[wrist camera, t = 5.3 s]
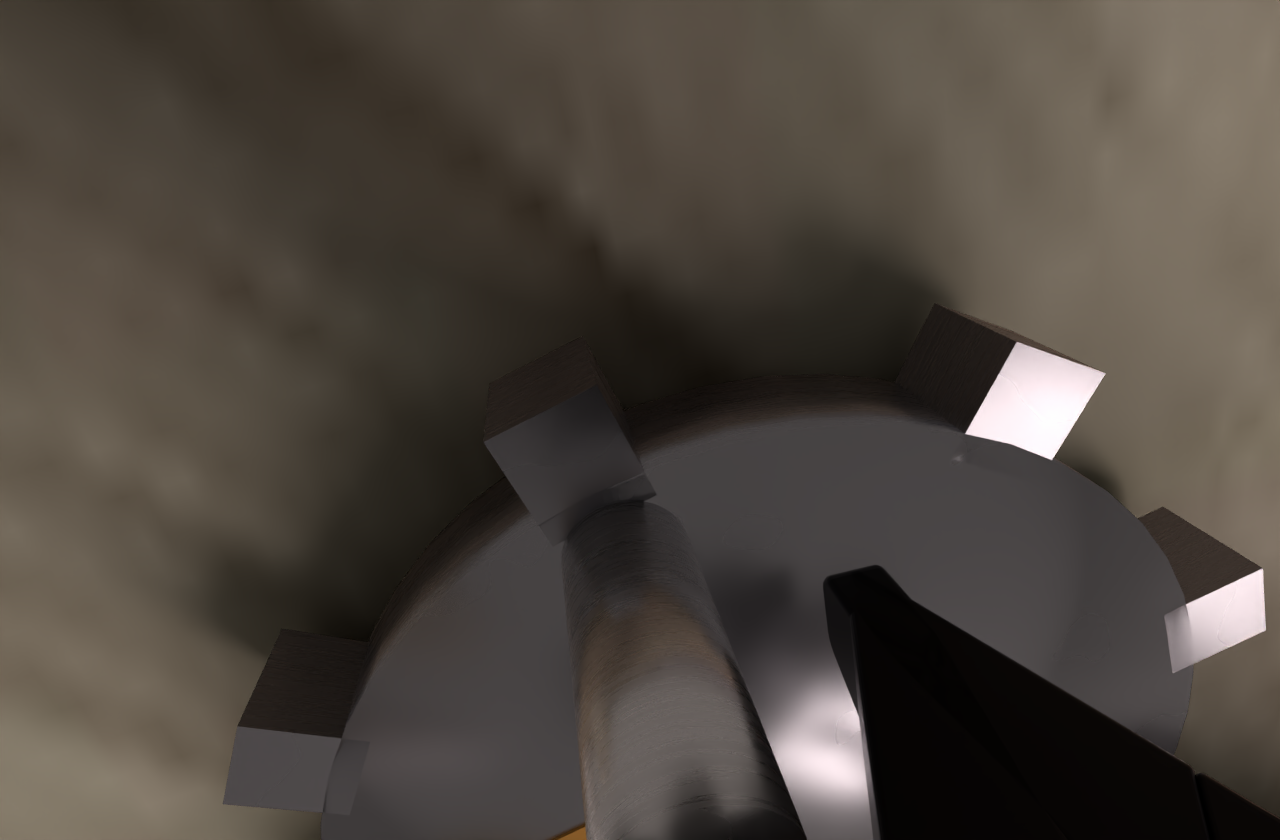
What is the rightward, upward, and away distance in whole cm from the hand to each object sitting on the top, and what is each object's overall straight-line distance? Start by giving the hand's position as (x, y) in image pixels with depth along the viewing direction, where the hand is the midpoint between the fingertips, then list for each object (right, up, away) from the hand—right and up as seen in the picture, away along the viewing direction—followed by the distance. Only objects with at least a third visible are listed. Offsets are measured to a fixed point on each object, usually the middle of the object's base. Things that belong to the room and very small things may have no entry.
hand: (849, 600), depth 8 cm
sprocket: (0, -3, +6) cm, 7 cm away
